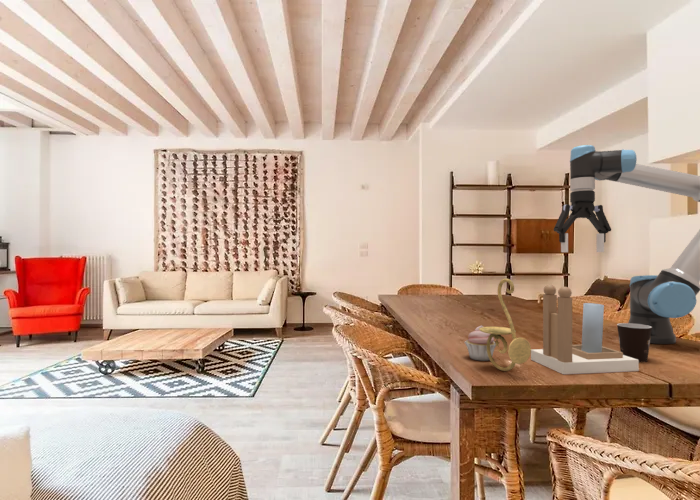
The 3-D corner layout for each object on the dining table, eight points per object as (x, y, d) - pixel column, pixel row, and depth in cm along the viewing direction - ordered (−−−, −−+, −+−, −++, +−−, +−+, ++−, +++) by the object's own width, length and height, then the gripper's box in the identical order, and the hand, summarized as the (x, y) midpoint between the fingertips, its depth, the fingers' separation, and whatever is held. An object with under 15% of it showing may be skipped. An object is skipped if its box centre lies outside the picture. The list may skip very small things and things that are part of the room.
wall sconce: (535, 376, 108) (535, 279, 108) (504, 380, 105) (504, 280, 105) (500, 362, 122) (500, 276, 122) (472, 365, 119) (472, 276, 119)
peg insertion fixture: (598, 356, 128) (598, 281, 128) (638, 371, 113) (638, 286, 113) (530, 359, 125) (530, 282, 125) (563, 374, 110) (563, 287, 110)
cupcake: (475, 363, 121) (475, 328, 121) (458, 355, 130) (458, 323, 130) (504, 361, 123) (504, 327, 123) (485, 353, 132) (485, 321, 132)
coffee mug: (641, 364, 119) (641, 329, 119) (610, 357, 127) (610, 324, 127) (663, 359, 125) (663, 325, 125) (632, 353, 132) (632, 321, 132)
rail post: (593, 351, 122) (595, 303, 122) (605, 356, 117) (608, 306, 117) (577, 351, 122) (579, 303, 121) (589, 356, 117) (591, 305, 116)
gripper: (606, 193, 152) (606, 252, 152) (542, 192, 148) (542, 252, 148) (623, 190, 144) (623, 252, 144) (556, 188, 141) (556, 252, 141)
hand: (582, 252), depth 146 cm, fingers open, 13 cm apart
